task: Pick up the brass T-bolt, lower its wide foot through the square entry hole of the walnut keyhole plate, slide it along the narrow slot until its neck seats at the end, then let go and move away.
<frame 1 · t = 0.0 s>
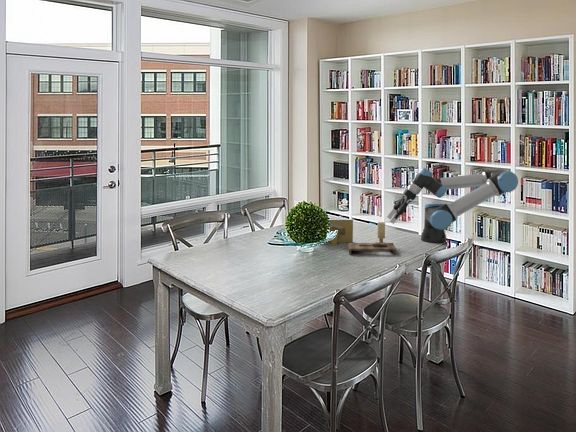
hand: (389, 220, 299), 15 cm above the table, tool tilted 35°, fingers open, 13 cm apart
cardboard box: (333, 243, 310), on the table
keyhole plate: (371, 251, 289), on the table
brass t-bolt: (380, 245, 302), on the table
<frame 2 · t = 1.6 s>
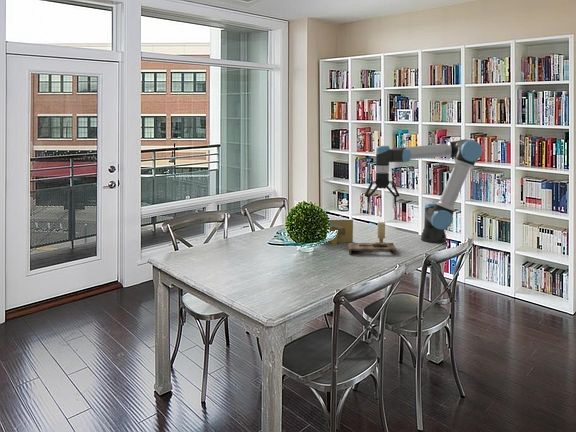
hand: (381, 208, 298), 23 cm above the table, tool pointing down, fingers open, 13 cm apart
nothing on the table moved.
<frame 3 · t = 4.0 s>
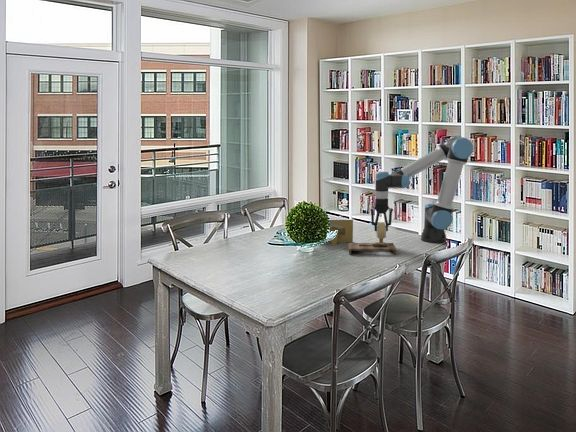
hand: (381, 236, 301), 6 cm above the table, tool pointing down, fingers closed on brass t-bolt, 4 cm apart
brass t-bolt: (380, 245, 302), on the table, touching gripper
everything else where it was.
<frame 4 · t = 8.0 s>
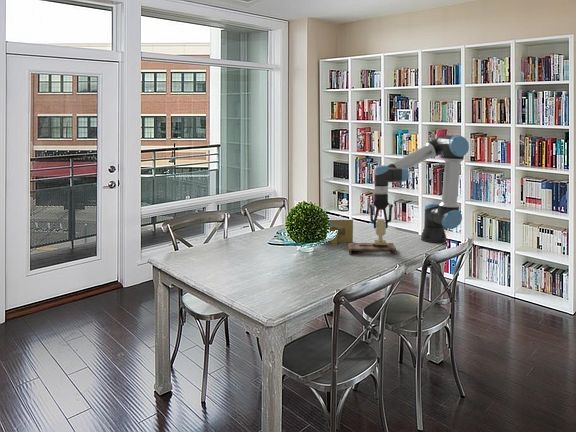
hand: (380, 233, 286), 11 cm above the table, tool pointing down, fingers closed on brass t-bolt, 4 cm apart
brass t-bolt: (380, 243, 287), point 5 cm above the table, touching gripper
everything else where it was.
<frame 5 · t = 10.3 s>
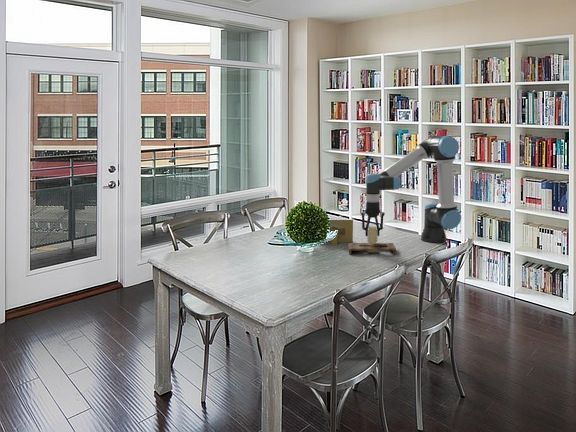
hand: (372, 241, 287), 6 cm above the table, tool pointing down, fingers closed on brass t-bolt, 4 cm apart
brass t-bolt: (372, 251, 289), on the table, touching gripper
everything else where it was.
when the fingers open (6 cm above the table, at t = 12.5 s): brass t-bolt stays where it is, on the table.
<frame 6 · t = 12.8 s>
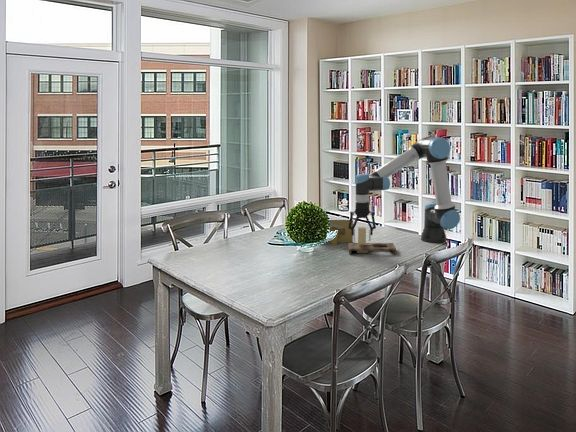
hand: (361, 240, 288), 6 cm above the table, tool pointing down, fingers open, 8 cm apart
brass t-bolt: (361, 251, 289), on the table
everything else where it was.
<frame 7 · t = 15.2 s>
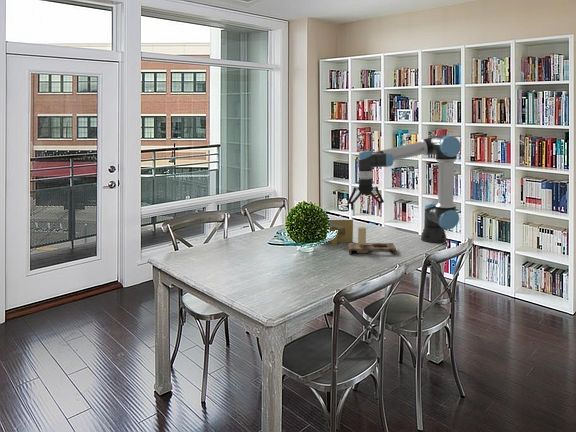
hand: (365, 215, 288), 21 cm above the table, tool pointing down, fingers open, 13 cm apart
nothing on the table moved.
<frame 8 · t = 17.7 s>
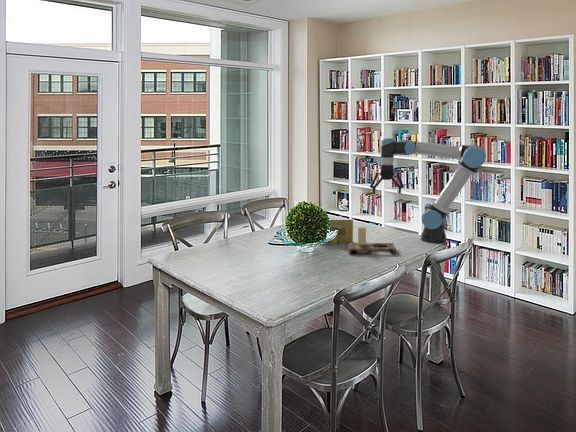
hand: (386, 199, 305), 27 cm above the table, tool pointing down, fingers open, 13 cm apart
nothing on the table moved.
at the end: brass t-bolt 0.5 cm from the target spot on the keyhole plate, point 0.0 cm above the keyhole plate's base; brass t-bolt tilted 0°; the gripper is holding nothing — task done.
